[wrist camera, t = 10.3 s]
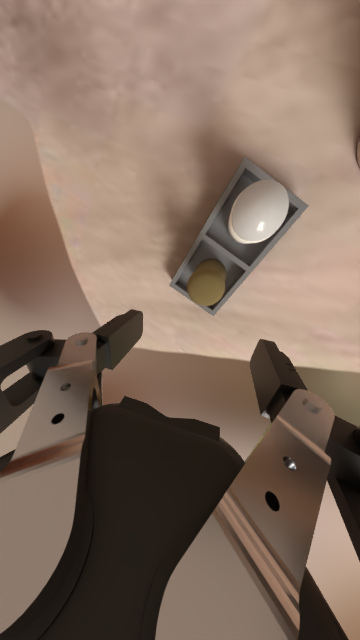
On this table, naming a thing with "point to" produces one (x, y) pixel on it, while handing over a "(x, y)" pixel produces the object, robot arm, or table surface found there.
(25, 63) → the table surface
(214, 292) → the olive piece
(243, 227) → the salt shaker
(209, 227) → the caddy
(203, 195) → the table surface
